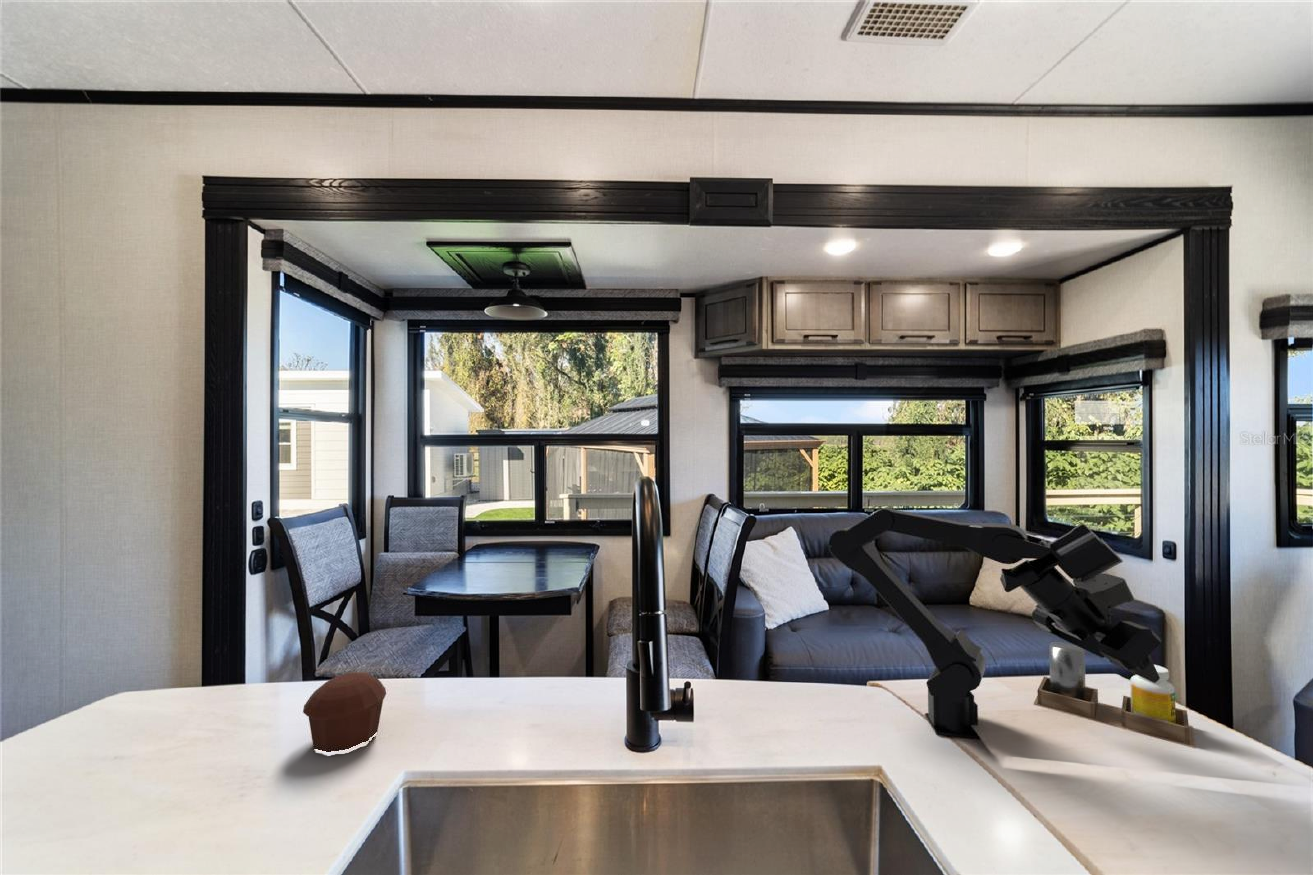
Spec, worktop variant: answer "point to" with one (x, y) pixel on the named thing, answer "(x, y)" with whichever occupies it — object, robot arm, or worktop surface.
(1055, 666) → the graphite billet
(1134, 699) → the supplement bottle
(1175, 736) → the wooden compartment tray
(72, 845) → the worktop surface
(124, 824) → the worktop surface
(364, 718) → the muffin
